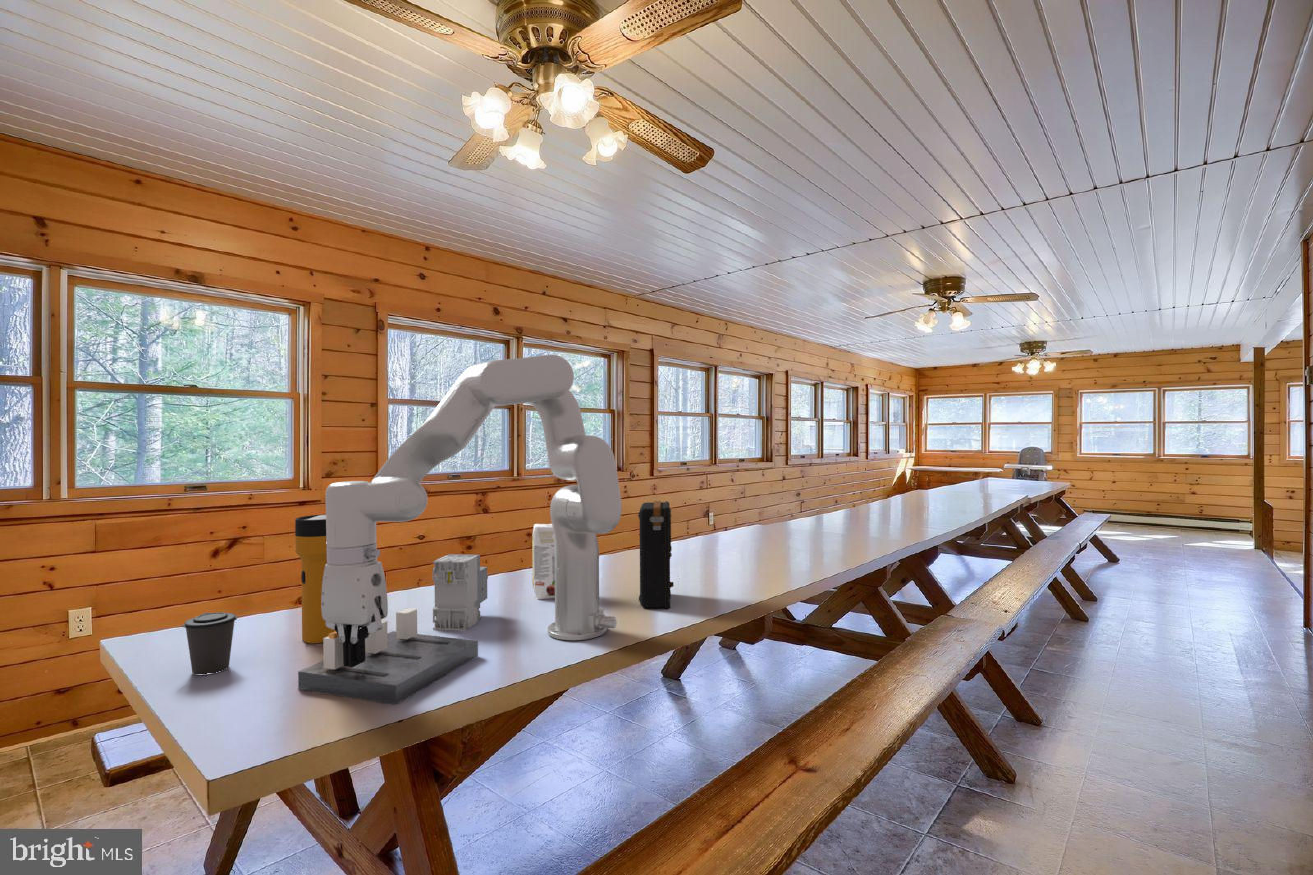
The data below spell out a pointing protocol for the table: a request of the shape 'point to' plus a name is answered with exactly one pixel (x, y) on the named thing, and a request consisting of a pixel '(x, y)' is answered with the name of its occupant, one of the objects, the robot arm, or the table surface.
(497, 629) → the table surface
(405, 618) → the block
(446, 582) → the circuit breaker
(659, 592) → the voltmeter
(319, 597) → the flashlight
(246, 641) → the table surface
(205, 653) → the coffee cup
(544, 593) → the juice carton
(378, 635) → the block
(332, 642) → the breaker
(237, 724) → the table surface
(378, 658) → the grey slider panel
